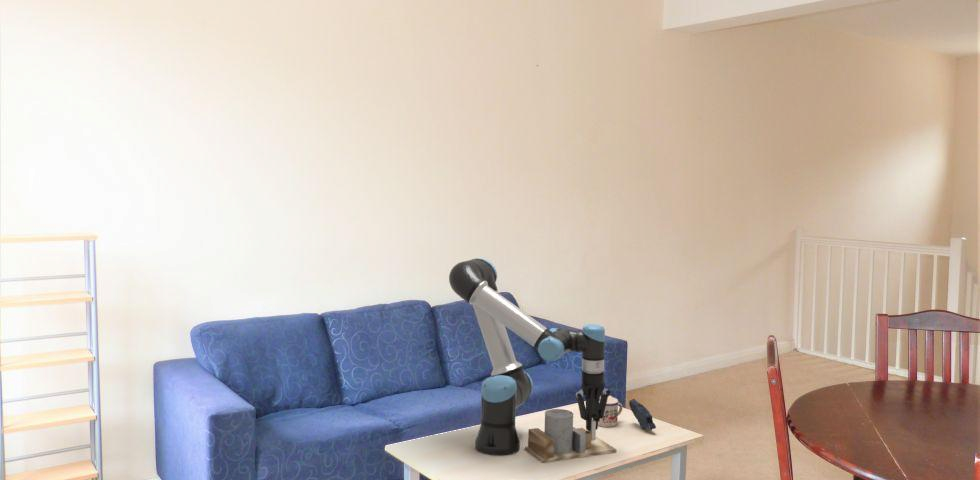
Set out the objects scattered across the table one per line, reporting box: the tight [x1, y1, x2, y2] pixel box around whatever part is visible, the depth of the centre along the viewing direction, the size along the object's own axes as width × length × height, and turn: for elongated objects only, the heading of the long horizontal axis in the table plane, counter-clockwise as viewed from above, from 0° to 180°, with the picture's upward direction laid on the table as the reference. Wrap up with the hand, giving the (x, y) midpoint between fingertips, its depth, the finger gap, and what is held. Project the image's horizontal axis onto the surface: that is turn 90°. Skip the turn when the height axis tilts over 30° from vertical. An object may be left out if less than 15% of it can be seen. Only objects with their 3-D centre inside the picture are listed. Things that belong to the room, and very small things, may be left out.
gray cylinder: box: [544, 408, 574, 454], centre depth 258 cm, size 10×10×12 cm
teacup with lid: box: [598, 395, 623, 428], centre depth 290 cm, size 12×9×12 cm
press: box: [524, 427, 617, 463], centre depth 260 cm, size 28×13×7 cm, turn 113°
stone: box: [628, 398, 657, 431], centre depth 285 cm, size 14×6×10 cm, turn 39°
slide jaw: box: [572, 426, 591, 453], centre depth 262 cm, size 6×12×6 cm, turn 23°
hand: (591, 439), depth 263 cm, fingers closed
